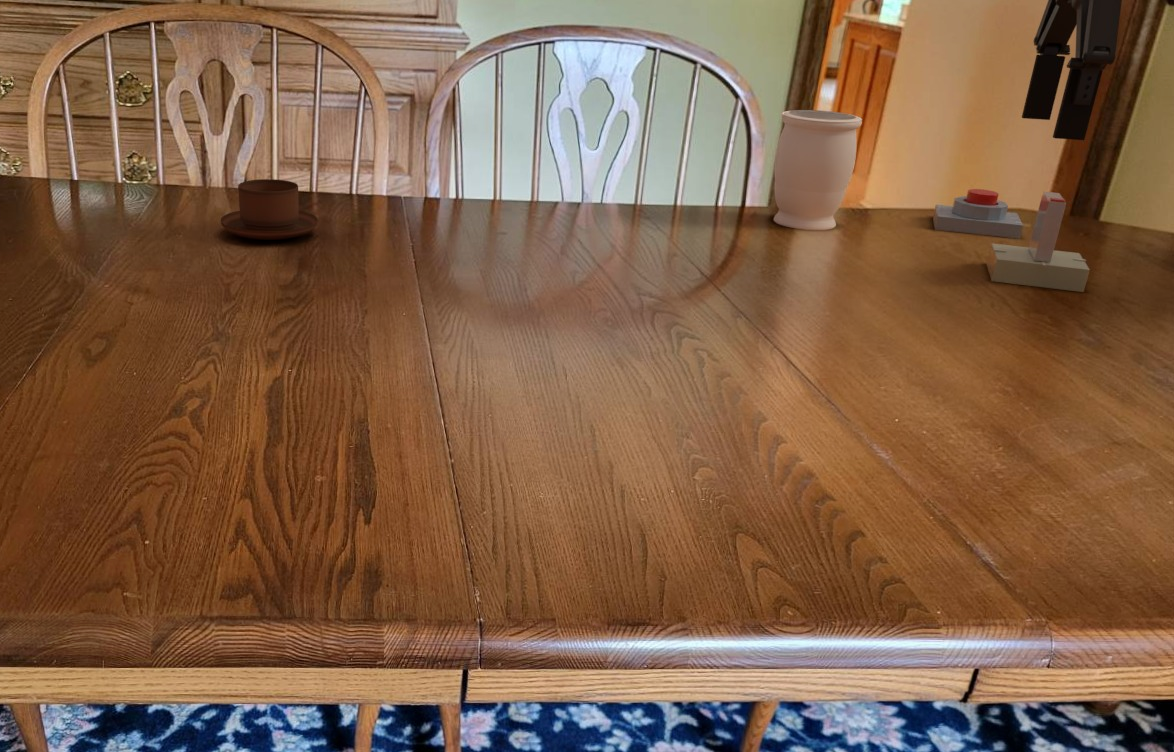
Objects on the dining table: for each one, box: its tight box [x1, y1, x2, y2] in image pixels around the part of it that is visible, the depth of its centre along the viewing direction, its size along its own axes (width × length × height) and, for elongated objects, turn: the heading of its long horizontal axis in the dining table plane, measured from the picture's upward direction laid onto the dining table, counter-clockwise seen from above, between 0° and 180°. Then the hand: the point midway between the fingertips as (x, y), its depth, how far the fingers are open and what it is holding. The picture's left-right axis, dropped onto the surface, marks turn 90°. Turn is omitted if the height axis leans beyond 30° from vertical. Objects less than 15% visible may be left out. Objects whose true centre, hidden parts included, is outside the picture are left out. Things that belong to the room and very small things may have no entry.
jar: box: [773, 109, 863, 231], centre depth 152 cm, size 11×10×15 cm
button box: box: [932, 195, 1024, 240], centre depth 155 cm, size 11×8×4 cm
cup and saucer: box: [220, 178, 319, 241], centre depth 137 cm, size 12×12×6 cm
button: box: [966, 188, 1000, 206], centre depth 154 cm, size 4×4×2 cm
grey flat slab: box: [1028, 191, 1067, 262], centre depth 131 cm, size 6×2×7 cm, turn 161°
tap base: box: [986, 243, 1091, 293], centre depth 133 cm, size 10×10×3 cm
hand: (1050, 128), depth 114 cm, fingers open, 13 cm apart
